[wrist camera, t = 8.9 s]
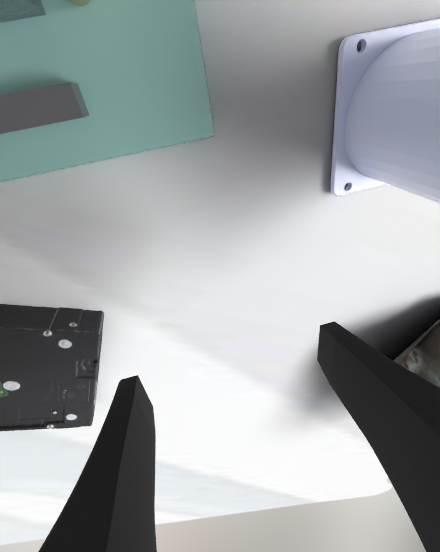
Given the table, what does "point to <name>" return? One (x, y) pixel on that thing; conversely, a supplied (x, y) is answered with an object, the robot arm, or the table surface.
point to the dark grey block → (20, 9)
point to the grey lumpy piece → (424, 355)
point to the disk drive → (48, 366)
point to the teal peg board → (99, 83)
